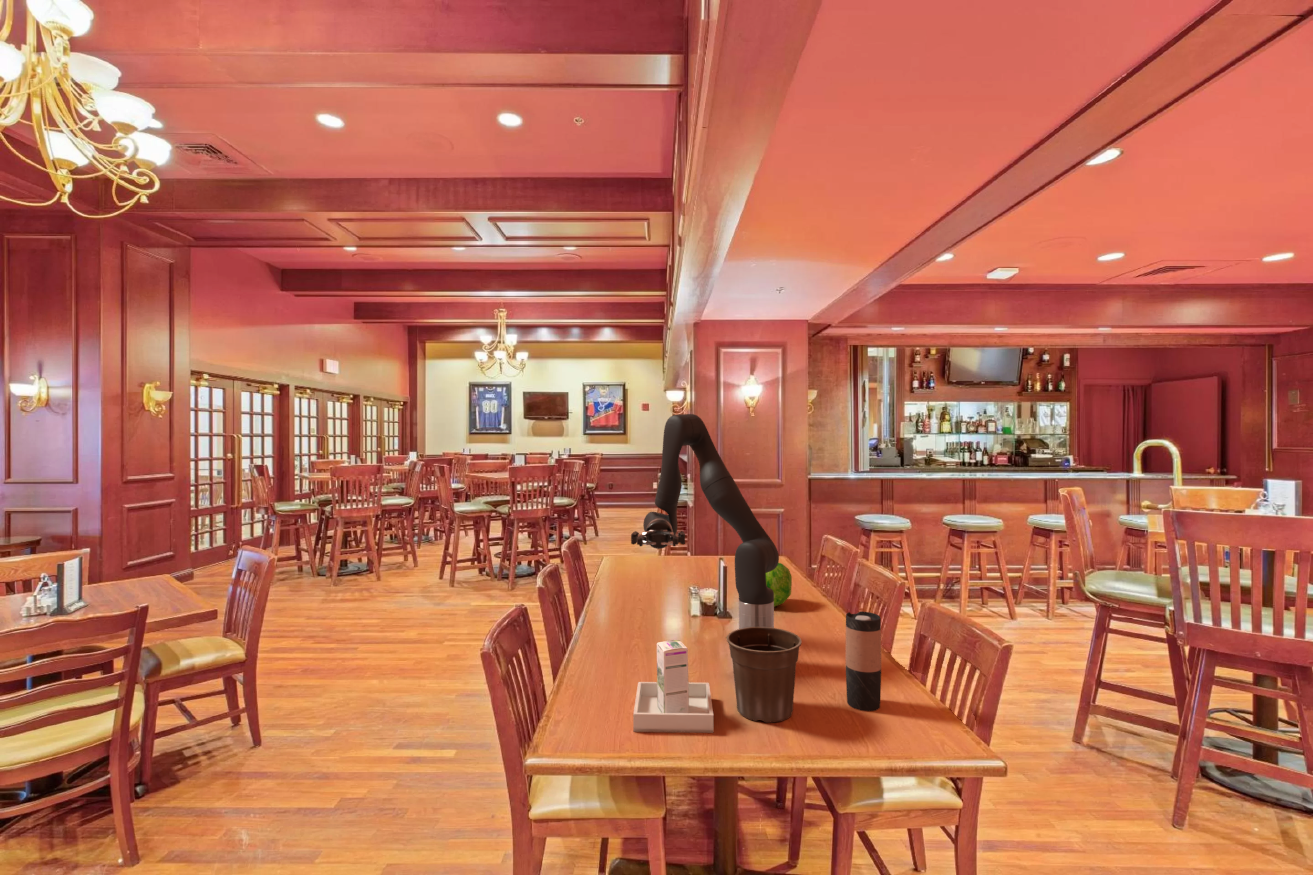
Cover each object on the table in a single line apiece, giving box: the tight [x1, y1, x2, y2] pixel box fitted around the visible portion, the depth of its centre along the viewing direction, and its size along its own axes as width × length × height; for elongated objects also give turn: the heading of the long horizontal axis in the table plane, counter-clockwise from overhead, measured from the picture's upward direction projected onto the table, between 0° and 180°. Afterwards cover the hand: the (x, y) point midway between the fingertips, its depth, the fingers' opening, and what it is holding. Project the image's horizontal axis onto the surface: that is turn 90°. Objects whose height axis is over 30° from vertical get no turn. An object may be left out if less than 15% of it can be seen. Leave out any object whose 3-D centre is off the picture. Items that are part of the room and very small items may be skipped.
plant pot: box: [726, 627, 802, 724], centre depth 132 cm, size 16×16×16 cm
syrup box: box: [656, 639, 689, 713], centre depth 131 cm, size 6×6×14 cm
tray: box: [632, 681, 714, 734], centre depth 130 cm, size 16×16×4 cm
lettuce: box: [766, 562, 793, 608], centre depth 216 cm, size 17×20×16 cm
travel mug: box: [845, 610, 882, 712], centre depth 135 cm, size 8×8×20 cm
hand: (657, 542), depth 152 cm, fingers open, 8 cm apart
